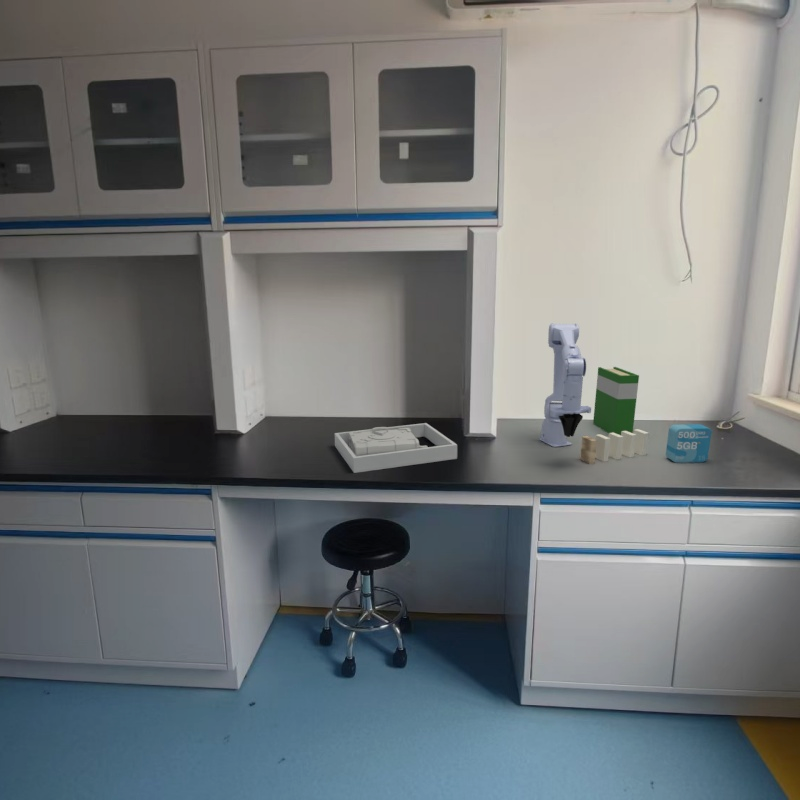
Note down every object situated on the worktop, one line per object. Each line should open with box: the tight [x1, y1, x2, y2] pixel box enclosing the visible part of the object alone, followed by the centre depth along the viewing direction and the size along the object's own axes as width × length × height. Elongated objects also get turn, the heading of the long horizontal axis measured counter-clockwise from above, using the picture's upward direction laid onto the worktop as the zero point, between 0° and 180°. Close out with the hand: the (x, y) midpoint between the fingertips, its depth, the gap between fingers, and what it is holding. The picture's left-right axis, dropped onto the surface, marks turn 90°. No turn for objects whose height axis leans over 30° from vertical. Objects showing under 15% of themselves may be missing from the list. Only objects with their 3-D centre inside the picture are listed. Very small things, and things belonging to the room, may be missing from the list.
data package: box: [665, 423, 712, 463], centre depth 171 cm, size 12×4×12 cm, turn 91°
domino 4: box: [621, 431, 636, 458], centre depth 177 cm, size 5×2×8 cm, turn 20°
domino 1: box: [580, 435, 597, 465], centre depth 171 cm, size 5×2×8 cm, turn 20°
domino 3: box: [607, 433, 623, 461], centre depth 175 cm, size 5×2×8 cm, turn 20°
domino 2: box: [594, 433, 610, 463], centre depth 173 cm, size 5×2×8 cm, turn 20°
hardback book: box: [592, 366, 640, 435], centre depth 203 cm, size 18×7×24 cm, turn 5°
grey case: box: [348, 426, 428, 456], centre depth 182 cm, size 19×28×8 cm
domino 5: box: [633, 428, 650, 456], centre depth 179 cm, size 5×2×8 cm, turn 20°
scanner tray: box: [334, 422, 458, 474], centre depth 181 cm, size 27×36×5 cm
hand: (568, 435), depth 167 cm, fingers closed
